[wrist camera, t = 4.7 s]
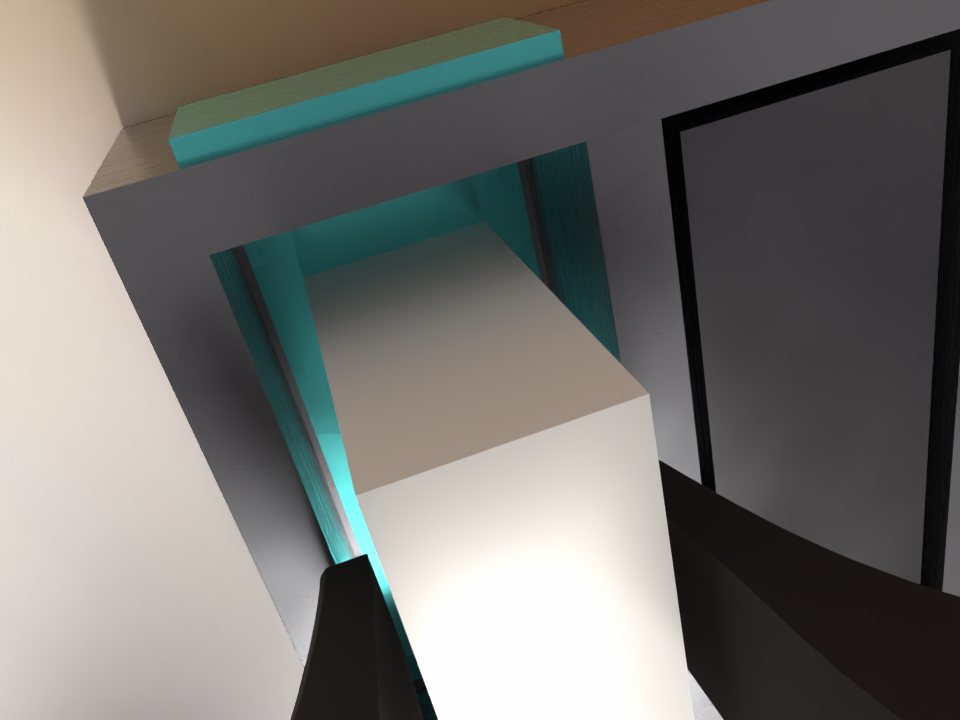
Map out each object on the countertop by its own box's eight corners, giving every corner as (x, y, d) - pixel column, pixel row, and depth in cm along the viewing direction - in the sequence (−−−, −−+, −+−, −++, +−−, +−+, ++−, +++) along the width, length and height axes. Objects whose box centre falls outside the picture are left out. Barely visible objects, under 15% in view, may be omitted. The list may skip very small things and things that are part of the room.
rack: (1137, -171, 15) (1420, -210, 11) (1049, 437, 21) (1212, 533, 18) (114, 108, 12) (69, 170, 9) (367, 699, 19) (399, 869, 15)
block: (484, 221, 13) (649, 393, 8) (566, 581, 17) (712, 853, 12) (303, 277, 13) (355, 494, 8) (428, 632, 17) (519, 938, 12)
